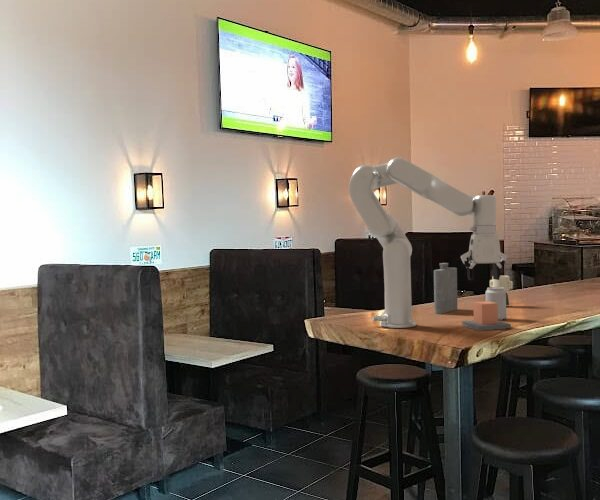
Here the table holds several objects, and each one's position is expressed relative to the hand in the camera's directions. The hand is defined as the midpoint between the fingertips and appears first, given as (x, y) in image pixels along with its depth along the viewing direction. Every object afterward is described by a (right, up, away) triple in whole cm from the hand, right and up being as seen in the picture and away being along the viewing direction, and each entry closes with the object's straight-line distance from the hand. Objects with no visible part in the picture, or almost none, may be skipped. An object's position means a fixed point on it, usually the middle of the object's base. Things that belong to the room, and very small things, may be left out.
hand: (483, 279), depth 225 cm
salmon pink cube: (+1, -15, +1) cm, 15 cm away
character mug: (+22, -14, +51) cm, 57 cm away
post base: (+1, -17, +1) cm, 17 cm away
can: (+9, -16, +17) cm, 25 cm away
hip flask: (-4, -15, +40) cm, 43 cm away
